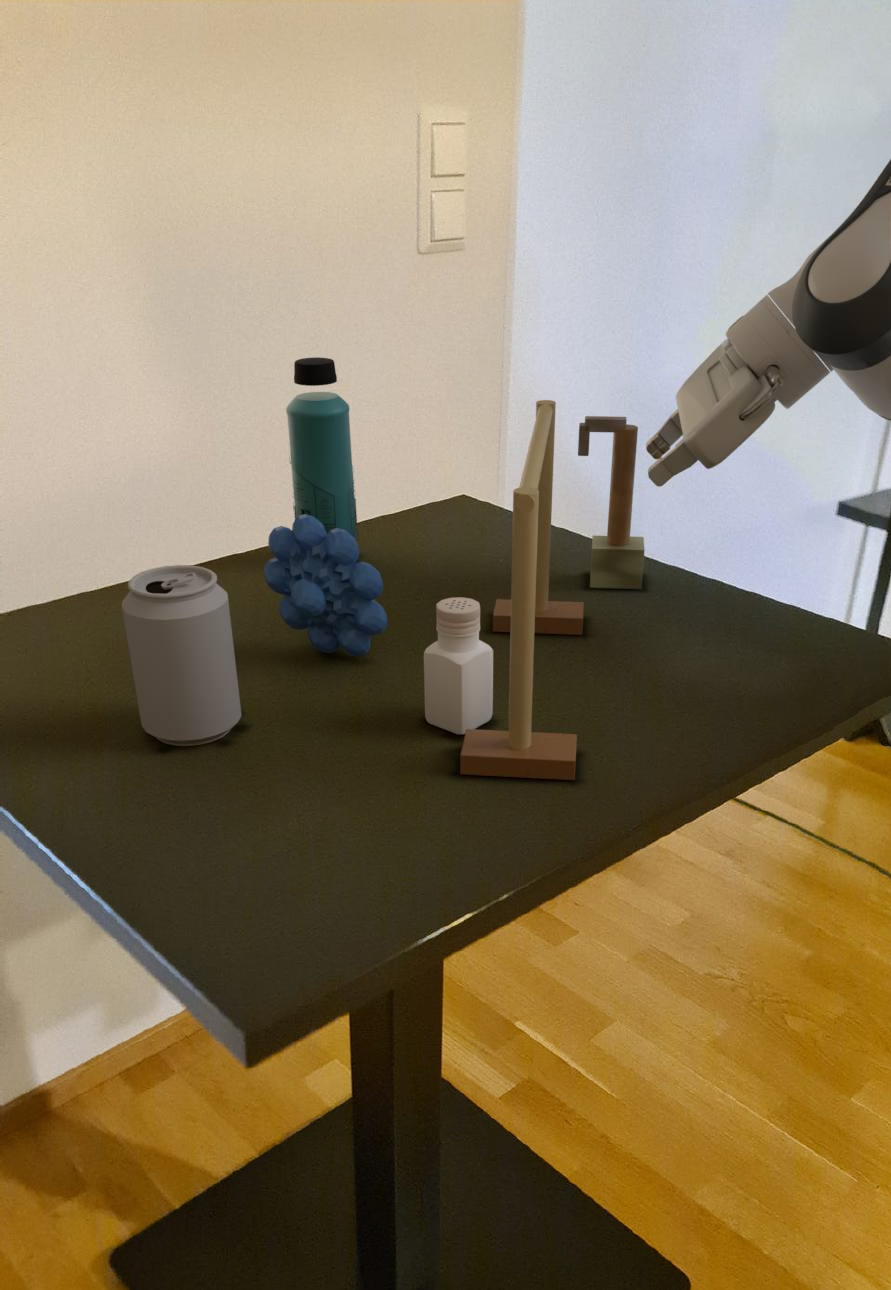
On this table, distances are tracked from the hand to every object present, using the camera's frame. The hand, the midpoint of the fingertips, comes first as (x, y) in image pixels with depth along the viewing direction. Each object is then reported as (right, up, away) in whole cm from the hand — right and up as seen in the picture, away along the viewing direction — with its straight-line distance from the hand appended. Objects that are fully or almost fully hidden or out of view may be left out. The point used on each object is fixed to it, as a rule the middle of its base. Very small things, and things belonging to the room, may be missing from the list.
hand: (651, 465), depth 107 cm
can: (-39, -26, -21) cm, 51 cm away
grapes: (-30, -19, -10) cm, 37 cm away
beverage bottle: (-32, -6, +12) cm, 35 cm away
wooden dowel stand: (-13, -22, -15) cm, 30 cm away
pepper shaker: (-18, -26, -20) cm, 38 cm away
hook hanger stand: (-2, -10, +6) cm, 12 cm away
